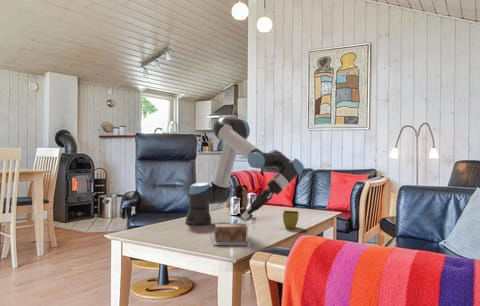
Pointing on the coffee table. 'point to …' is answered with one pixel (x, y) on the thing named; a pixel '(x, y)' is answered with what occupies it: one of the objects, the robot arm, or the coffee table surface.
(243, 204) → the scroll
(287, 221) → the flower pot
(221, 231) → the walnut block
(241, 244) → the mat
